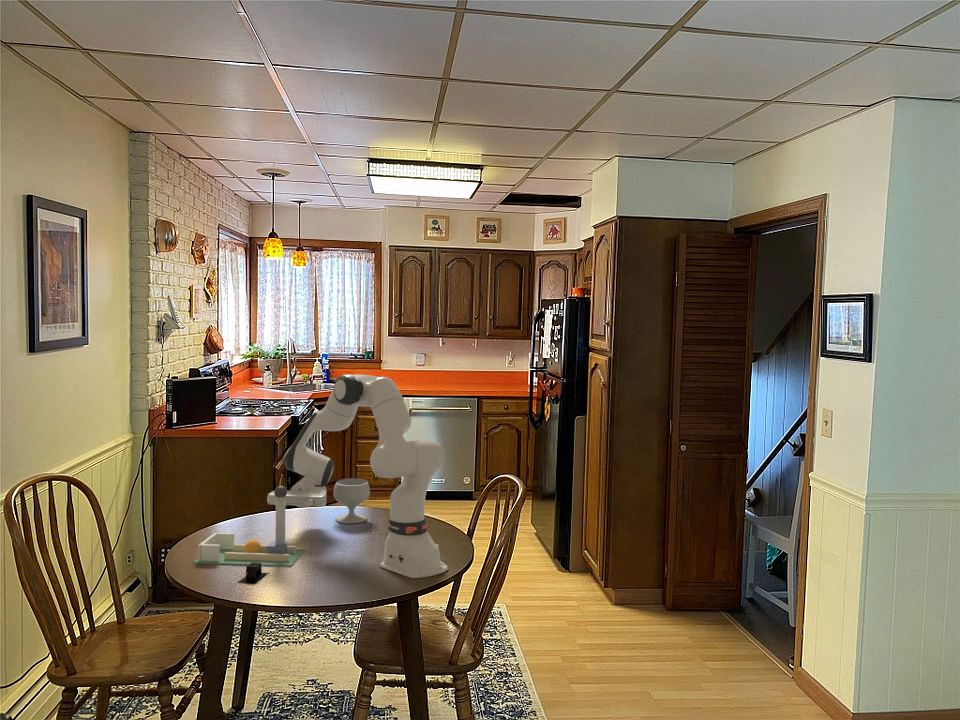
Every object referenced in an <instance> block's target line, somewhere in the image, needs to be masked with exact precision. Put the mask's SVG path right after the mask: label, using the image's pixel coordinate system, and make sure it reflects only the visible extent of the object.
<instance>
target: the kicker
mask: <svg viewBox="0 0 960 720" xmlns="http://www.w3.org/2000/svg"><path fill="white" fill-rule="evenodd" d="M273 491H274V494H275V496H276V506H275V541H273V540H272V541H271V542H270V543H269V544H268V546H267V553H270V554H286V553H287V546H288V541H286V505H285V496H286V495H287V487H286V486H283V485H279V486H277V487H275V489H274V490H273Z"/></svg>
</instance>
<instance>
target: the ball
mask: <svg viewBox="0 0 960 720" xmlns="http://www.w3.org/2000/svg"><path fill="white" fill-rule="evenodd" d="M261 545H262V544H261V543H260V541H258V540H257V539H250V540H248V541H247V542H246V543H245V552H246V553H259V552H260V549H261Z"/></svg>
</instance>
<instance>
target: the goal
mask: <svg viewBox="0 0 960 720" xmlns="http://www.w3.org/2000/svg"><path fill="white" fill-rule="evenodd" d="M245 545H246V543H245V544H243V543H242V544H241V543H240V544H239V543H238V544H236V543H235V533H233V532H214V533H213V534H211V535H210V536H208V538H206V539H204V540H203V541H201V542H200V543H199V544H198V547H197V548H198V551H197V552H198V553H197V554H198V558H197V559H198V561H220V549H234V551H245ZM260 545H261V549H260V552H267V546H268V545H269V544H268V545H267V544H260ZM296 549H298V547H297V546H296V545H287V553H296ZM224 559H231V560H262V561H289V554H270V553H239V552H225V553H224Z"/></svg>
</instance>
